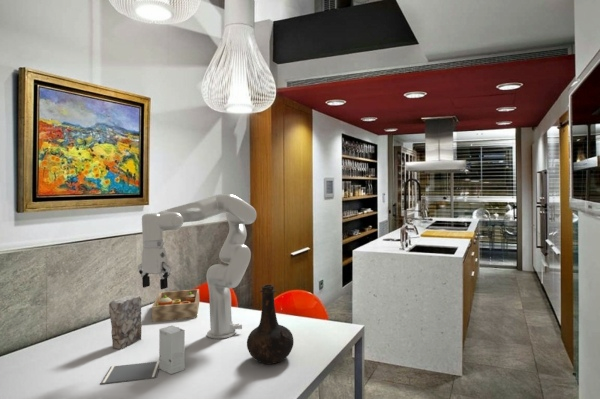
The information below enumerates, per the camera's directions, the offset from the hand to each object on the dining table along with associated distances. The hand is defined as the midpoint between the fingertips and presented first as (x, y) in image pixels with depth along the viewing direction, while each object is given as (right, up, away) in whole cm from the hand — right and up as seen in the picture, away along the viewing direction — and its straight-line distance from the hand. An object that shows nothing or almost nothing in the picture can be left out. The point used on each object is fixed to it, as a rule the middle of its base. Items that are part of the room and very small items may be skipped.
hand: (155, 287), depth 163 cm
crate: (-10, -27, +64) cm, 70 cm away
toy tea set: (-9, -26, +64) cm, 70 cm away
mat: (-3, -28, -15) cm, 31 cm away
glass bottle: (+46, -26, -7) cm, 54 cm away
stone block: (-17, -28, +15) cm, 36 cm away
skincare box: (+11, -27, -13) cm, 32 cm away
